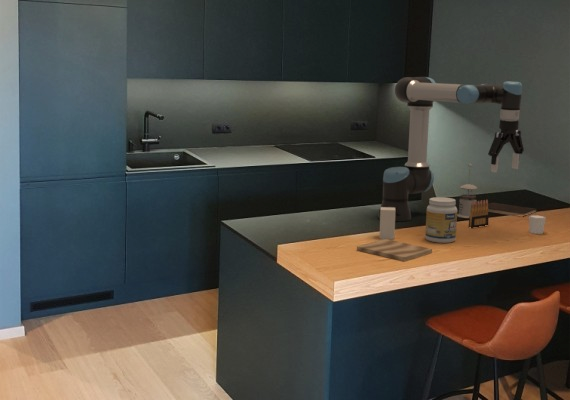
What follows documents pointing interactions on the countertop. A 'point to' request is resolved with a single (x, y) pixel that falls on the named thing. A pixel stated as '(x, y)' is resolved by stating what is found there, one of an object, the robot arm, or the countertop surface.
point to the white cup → (536, 224)
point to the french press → (466, 200)
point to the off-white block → (387, 223)
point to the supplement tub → (441, 220)
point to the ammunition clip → (478, 214)
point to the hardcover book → (509, 209)
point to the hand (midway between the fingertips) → (504, 170)
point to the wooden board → (394, 249)
